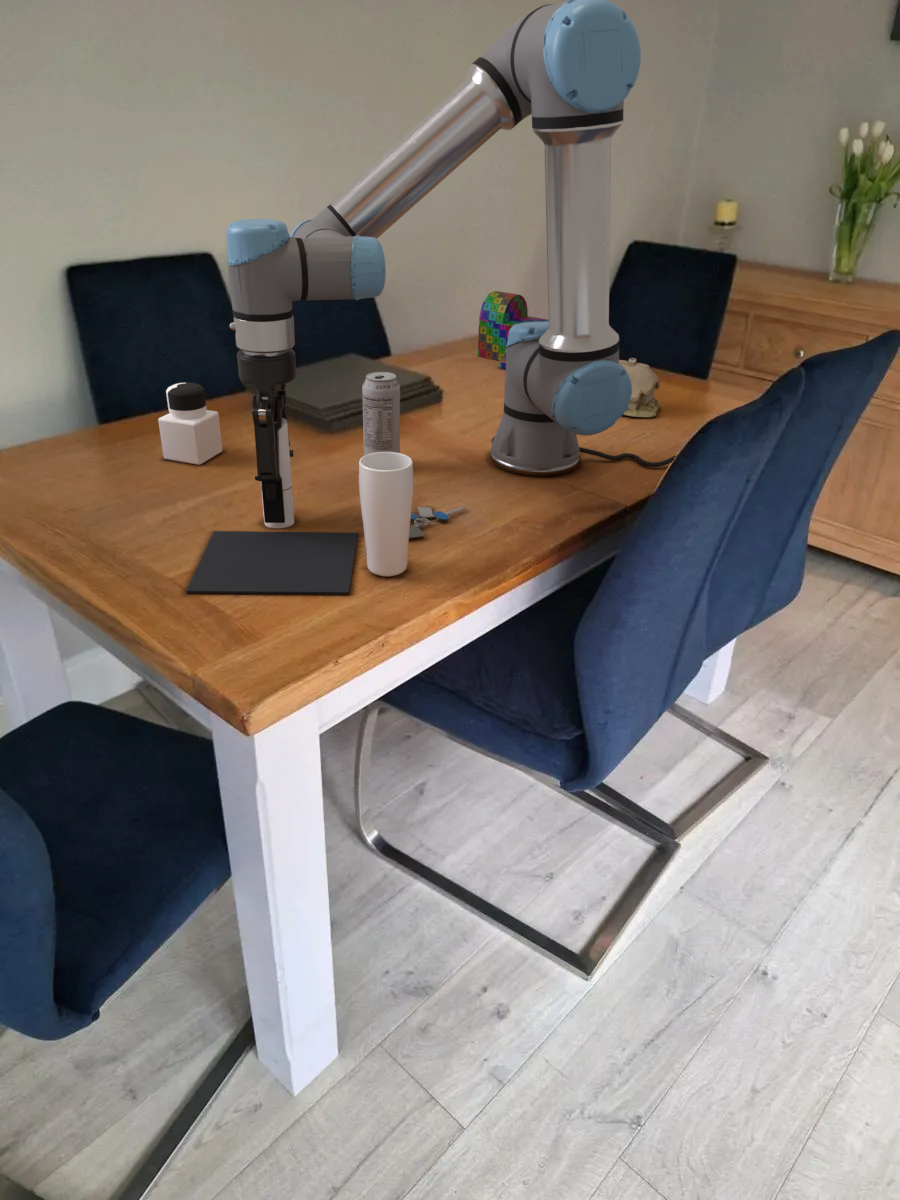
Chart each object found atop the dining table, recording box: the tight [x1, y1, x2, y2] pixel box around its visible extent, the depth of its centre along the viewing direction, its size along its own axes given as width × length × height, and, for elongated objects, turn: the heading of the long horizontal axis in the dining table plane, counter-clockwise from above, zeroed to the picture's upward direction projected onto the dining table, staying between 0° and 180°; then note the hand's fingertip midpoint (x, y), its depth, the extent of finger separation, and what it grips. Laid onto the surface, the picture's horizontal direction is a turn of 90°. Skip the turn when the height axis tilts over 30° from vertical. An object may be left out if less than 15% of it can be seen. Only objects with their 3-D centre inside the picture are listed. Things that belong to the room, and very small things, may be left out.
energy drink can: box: [361, 371, 401, 456], centre depth 143 cm, size 6×6×15 cm
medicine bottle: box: [157, 382, 223, 466], centre depth 145 cm, size 7×7×12 cm
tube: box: [260, 418, 295, 529], centre depth 123 cm, size 4×4×15 cm
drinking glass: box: [358, 452, 414, 577], centre depth 111 cm, size 7×7×15 cm
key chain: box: [409, 505, 467, 539], centre depth 128 cm, size 14×8×1 cm, turn 148°
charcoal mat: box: [185, 530, 358, 596], centre depth 116 cm, size 20×17×1 cm
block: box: [477, 290, 549, 370], centre depth 202 cm, size 25×17×14 cm
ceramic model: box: [619, 357, 661, 418], centre depth 175 cm, size 14×11×10 cm
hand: (278, 510), depth 126 cm, fingers open, 6 cm apart
